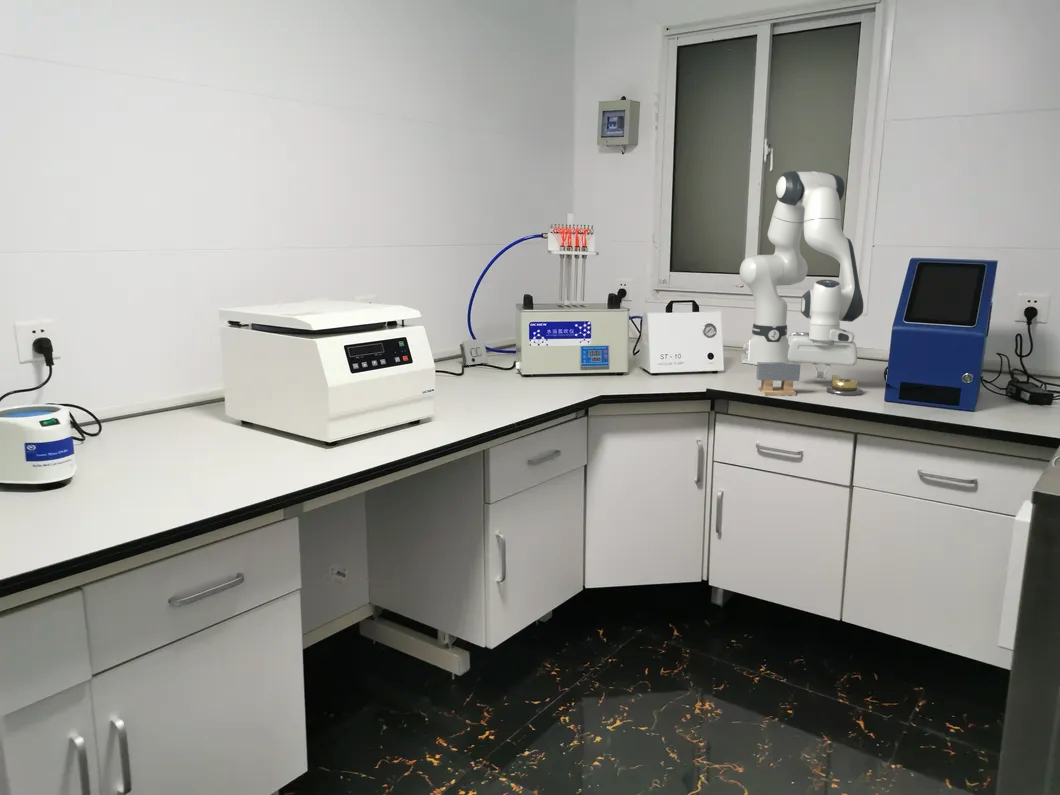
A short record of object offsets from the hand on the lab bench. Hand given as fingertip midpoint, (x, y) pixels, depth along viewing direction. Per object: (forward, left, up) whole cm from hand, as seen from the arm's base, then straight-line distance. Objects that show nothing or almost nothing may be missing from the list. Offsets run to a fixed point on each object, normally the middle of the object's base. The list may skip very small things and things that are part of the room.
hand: (820, 377), depth 246 cm
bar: (+9, -16, +1) cm, 18 cm away
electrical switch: (-36, -112, -3) cm, 118 cm away
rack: (+9, -16, -3) cm, 18 cm away
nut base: (+8, +5, -3) cm, 10 cm away
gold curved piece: (+5, +5, -2) cm, 7 cm away
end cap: (-2, +27, -3) cm, 27 cm away
